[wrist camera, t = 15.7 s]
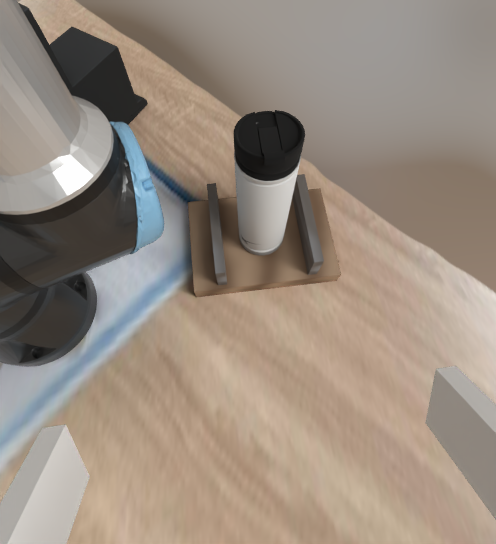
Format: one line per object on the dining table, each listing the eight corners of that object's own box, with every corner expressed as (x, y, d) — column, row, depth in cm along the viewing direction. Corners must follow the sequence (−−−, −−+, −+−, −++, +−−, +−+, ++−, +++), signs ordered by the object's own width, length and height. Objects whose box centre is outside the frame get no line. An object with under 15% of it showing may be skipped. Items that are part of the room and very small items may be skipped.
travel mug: (241, 260, 45) (236, 163, 26) (237, 219, 47) (229, 102, 28) (286, 256, 45) (313, 156, 26) (279, 214, 47) (300, 96, 29)
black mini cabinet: (102, 82, 60) (20, -98, 38) (149, 104, 58) (91, -71, 36) (10, 171, 53) (-158, 12, 31) (60, 200, 51) (-81, 52, 29)
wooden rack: (196, 297, 45) (188, 280, 39) (190, 211, 50) (182, 183, 44) (336, 280, 46) (351, 261, 40) (316, 197, 51) (327, 168, 45)
